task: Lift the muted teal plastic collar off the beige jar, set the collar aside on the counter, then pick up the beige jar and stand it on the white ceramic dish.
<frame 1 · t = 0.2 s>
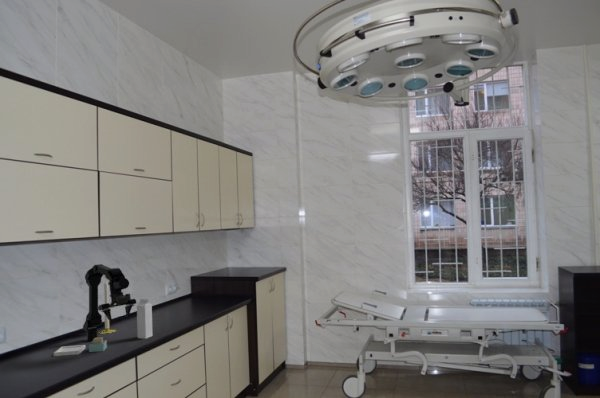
hand: (119, 320, 244), 15 cm above the counter, tool pointing down, fingers open, 9 cm apart
collar: (98, 349, 243), on the counter
beige jar: (98, 344, 244), in the collar
milk: (145, 337, 267), on the counter
dish: (70, 352, 241), on the counter
candle: (107, 332, 284), on the counter
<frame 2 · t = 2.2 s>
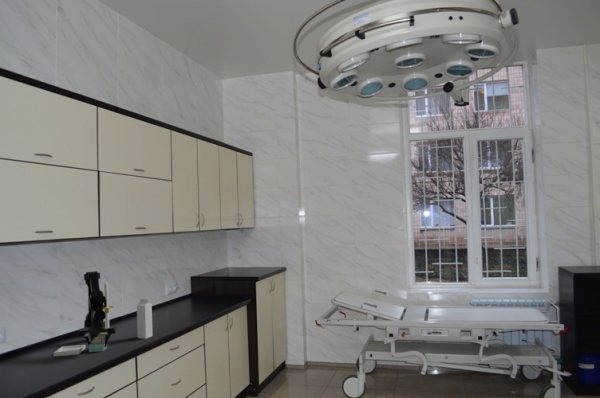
hand: (98, 347, 244), 1 cm above the counter, tool pointing down, fingers closed on collar, 7 cm apart
collar: (98, 349, 243), on the counter, touching gripper
everything else where it was.
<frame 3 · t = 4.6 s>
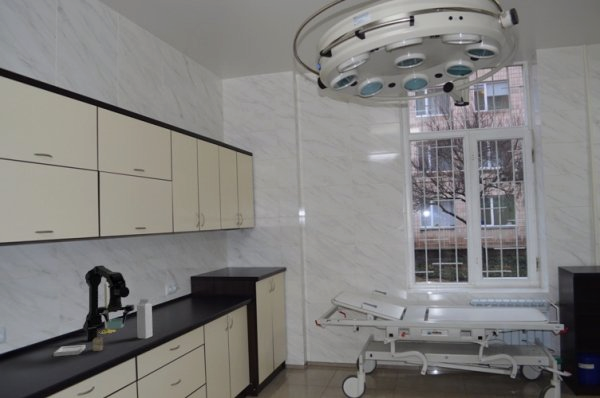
hand: (115, 325, 247), 12 cm above the counter, tool pointing down, fingers closed on collar, 7 cm apart
collar: (115, 327, 247), point 11 cm above the counter, touching gripper
everything else where it was.
when the fingers open (2 cm above the counter, at t = 6.8 s): collar drops 1 cm, on the counter.
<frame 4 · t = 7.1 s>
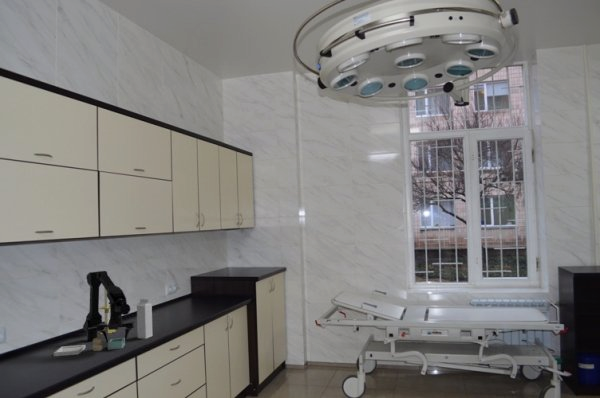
hand: (116, 341, 247), 3 cm above the counter, tool pointing down, fingers open, 9 cm apart
collar: (116, 347, 247), on the counter
everything else where it was.
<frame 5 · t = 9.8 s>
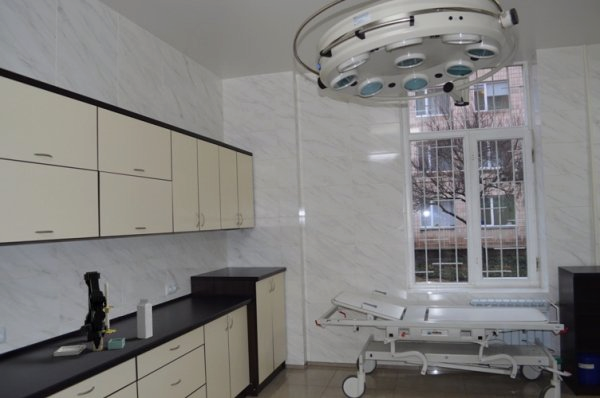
hand: (98, 347, 244), 1 cm above the counter, tool pointing down, fingers closed on beige jar, 4 cm apart
beige jar: (98, 344, 244), on the counter, touching gripper
everything else where it was.
when the fingers open (3 cm above the counter, at t = 14.0 s): beige jar drops 1 cm, resting on dish.
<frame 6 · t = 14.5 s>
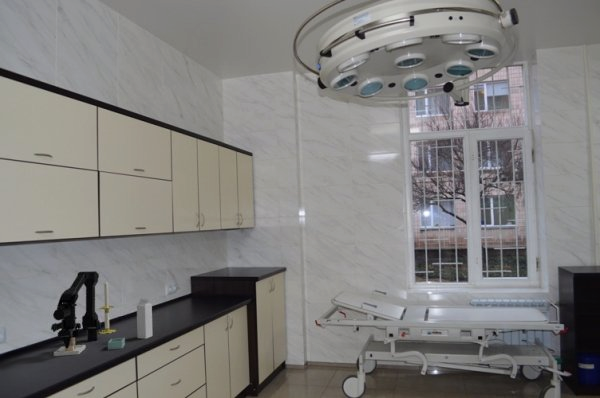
hand: (69, 345, 241), 3 cm above the counter, tool pointing down, fingers open, 9 cm apart
beige jar: (69, 344, 241), point 4 cm above the counter, touching dish
everything else where it was.
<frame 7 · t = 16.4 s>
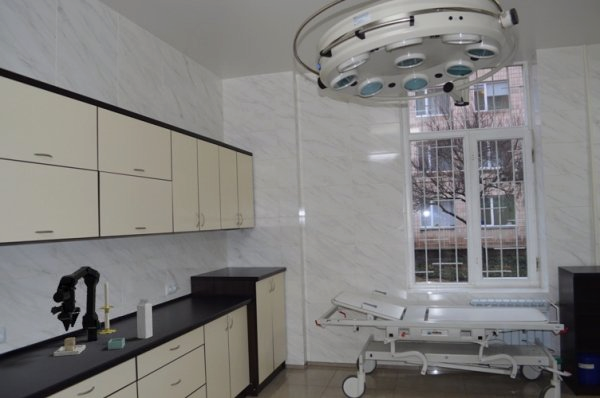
hand: (69, 329, 242), 12 cm above the counter, tool pointing down, fingers open, 9 cm apart
nothing on the counter moved.
at the end: beige jar inside the target area on the dish (0.1 cm from its centre), point 4.0 cm above the dish's base; collar moved 9.2 cm from its start; the gripper is holding nothing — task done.
